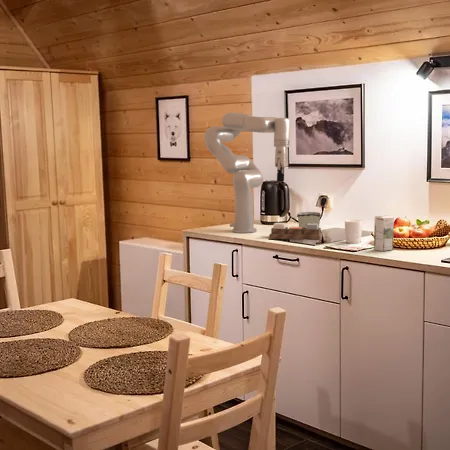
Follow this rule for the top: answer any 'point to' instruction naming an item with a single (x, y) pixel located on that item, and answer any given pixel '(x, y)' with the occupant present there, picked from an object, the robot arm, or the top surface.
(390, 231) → the syrup box
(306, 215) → the food container
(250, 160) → the robot arm
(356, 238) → the white cup
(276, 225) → the cream key
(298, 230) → the key console
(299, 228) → the terracotta key
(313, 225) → the slate key
